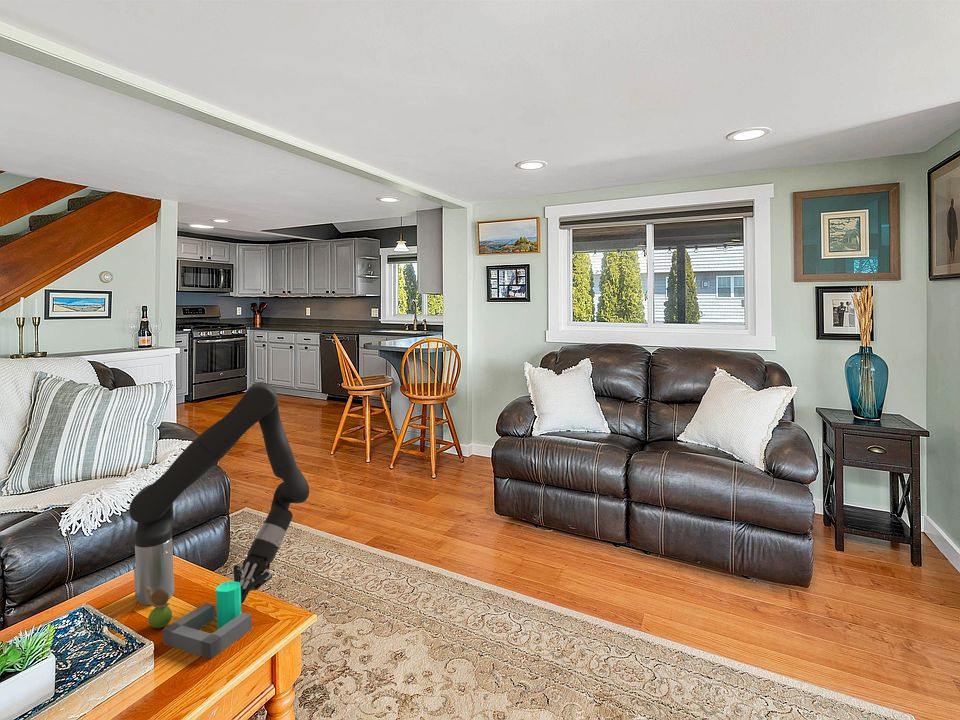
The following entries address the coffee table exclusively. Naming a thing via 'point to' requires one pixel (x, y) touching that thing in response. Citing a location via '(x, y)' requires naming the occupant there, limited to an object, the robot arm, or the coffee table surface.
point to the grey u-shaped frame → (203, 643)
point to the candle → (228, 602)
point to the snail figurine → (158, 607)
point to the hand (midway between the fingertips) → (236, 603)
